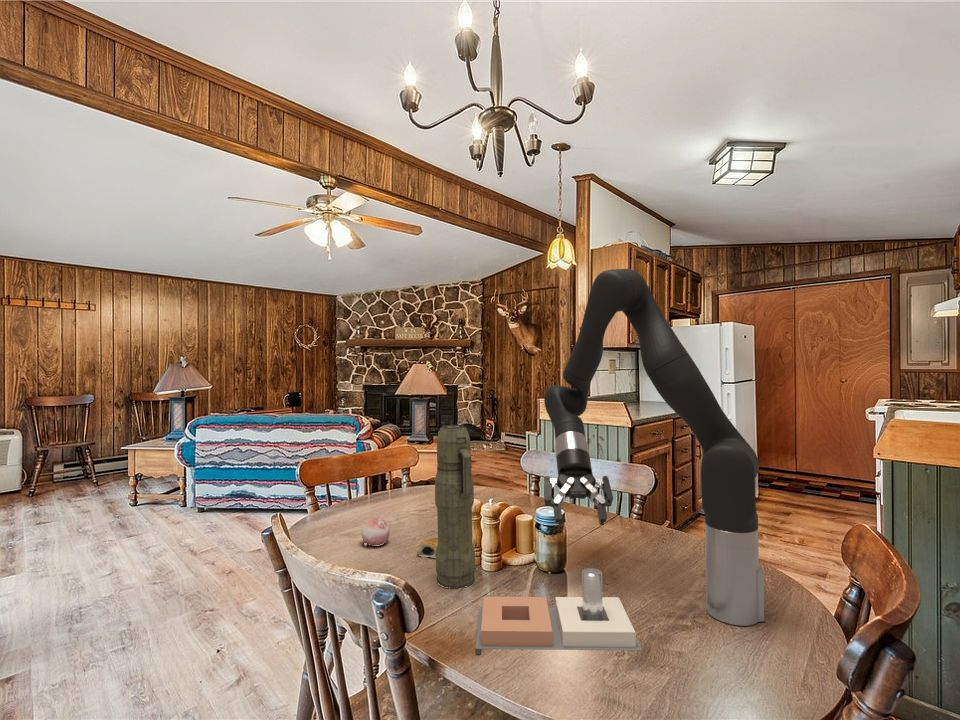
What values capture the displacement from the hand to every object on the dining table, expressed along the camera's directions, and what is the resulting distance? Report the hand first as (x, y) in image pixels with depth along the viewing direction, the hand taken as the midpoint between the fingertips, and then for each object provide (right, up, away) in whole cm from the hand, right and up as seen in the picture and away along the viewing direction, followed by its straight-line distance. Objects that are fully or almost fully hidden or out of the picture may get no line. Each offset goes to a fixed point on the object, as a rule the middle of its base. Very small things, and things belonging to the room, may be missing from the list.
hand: (581, 523), depth 102 cm
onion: (-49, -17, +34) cm, 62 cm away
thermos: (-26, -17, +11) cm, 33 cm away
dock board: (-7, -16, -11) cm, 21 cm away
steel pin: (0, -15, -11) cm, 19 cm away
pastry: (-33, -17, +27) cm, 46 cm away
